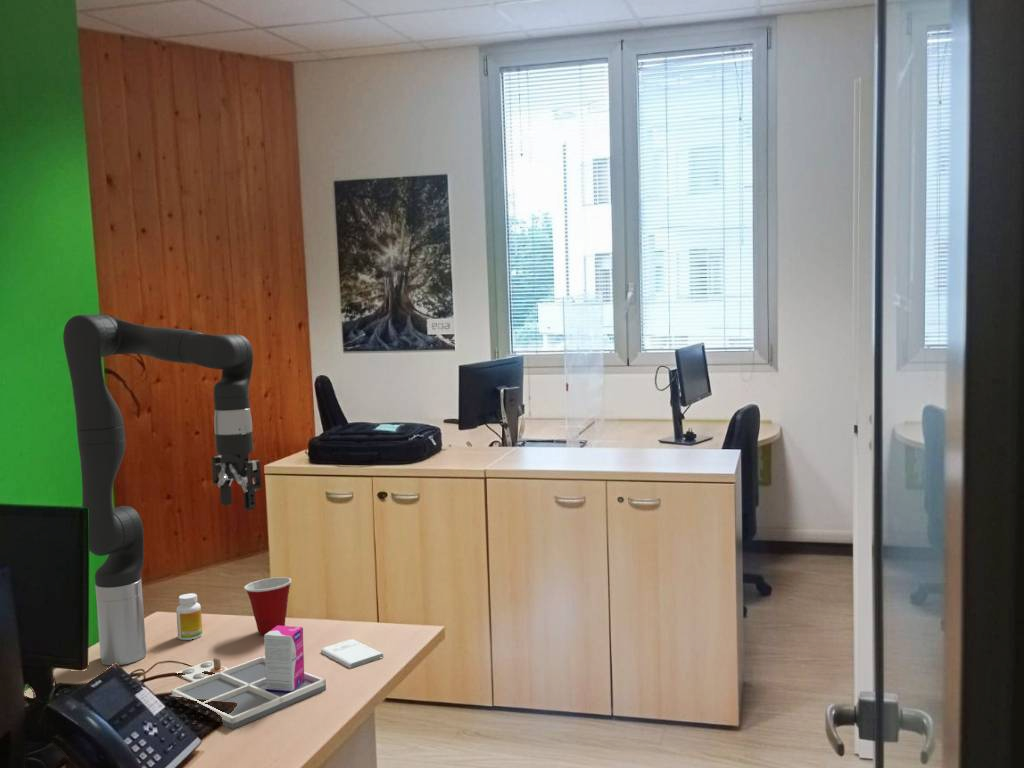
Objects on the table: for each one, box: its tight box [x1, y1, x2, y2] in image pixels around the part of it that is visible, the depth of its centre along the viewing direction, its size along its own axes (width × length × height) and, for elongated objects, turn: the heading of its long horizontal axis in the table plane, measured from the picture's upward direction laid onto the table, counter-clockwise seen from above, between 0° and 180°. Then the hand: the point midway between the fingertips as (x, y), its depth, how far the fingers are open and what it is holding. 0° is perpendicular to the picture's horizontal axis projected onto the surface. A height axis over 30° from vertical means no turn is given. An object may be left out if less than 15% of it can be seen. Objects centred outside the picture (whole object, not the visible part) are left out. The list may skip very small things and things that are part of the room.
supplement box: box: [263, 625, 305, 693], centre depth 178 cm, size 6×6×12 cm
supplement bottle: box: [175, 593, 203, 641], centre depth 211 cm, size 5×5×10 cm
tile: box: [175, 657, 230, 683], centre depth 189 cm, size 8×8×3 cm
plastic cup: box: [243, 576, 293, 637], centre depth 212 cm, size 11×11×12 cm
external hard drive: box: [320, 638, 384, 669], centre depth 197 cm, size 2×8×12 cm
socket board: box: [170, 655, 327, 730], centre depth 178 cm, size 21×21×2 cm
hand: (238, 507), depth 190 cm, fingers open, 8 cm apart
